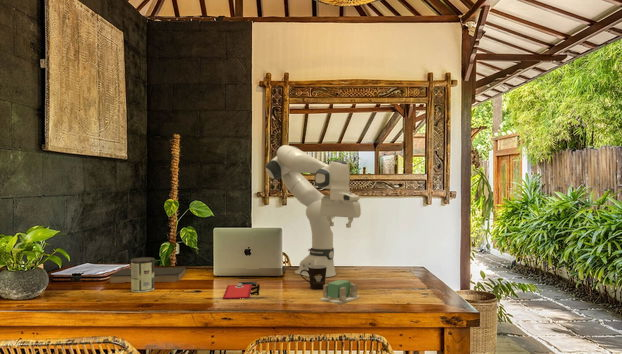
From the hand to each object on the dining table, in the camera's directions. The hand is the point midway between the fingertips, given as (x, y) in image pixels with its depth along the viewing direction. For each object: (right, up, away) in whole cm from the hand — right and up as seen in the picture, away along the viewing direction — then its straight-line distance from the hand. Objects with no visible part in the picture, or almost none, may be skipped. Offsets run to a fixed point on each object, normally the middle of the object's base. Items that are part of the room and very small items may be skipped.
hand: (339, 226), depth 215 cm
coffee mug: (-11, -29, +7) cm, 32 cm away
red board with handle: (-44, -30, +1) cm, 53 cm away
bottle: (0, -27, -12) cm, 30 cm away
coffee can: (-90, -29, +3) cm, 95 cm away
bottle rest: (-1, -29, -13) cm, 32 cm away
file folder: (-96, -30, +30) cm, 105 cm away
